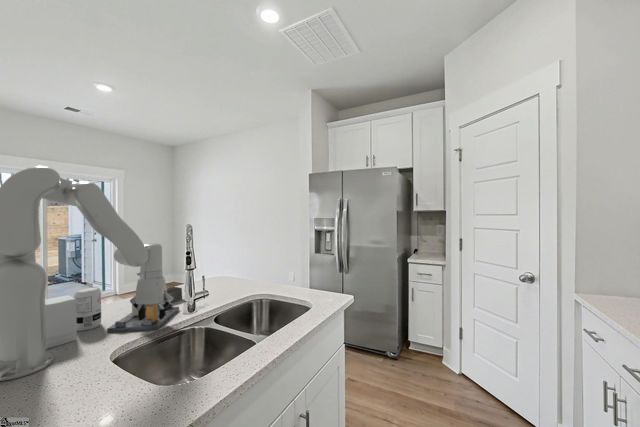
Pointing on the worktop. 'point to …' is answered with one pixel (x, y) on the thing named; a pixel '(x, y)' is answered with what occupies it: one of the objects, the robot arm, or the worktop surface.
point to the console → (142, 321)
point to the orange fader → (152, 312)
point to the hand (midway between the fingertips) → (152, 318)
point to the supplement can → (88, 308)
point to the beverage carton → (174, 293)
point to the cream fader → (134, 311)
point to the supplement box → (60, 320)
